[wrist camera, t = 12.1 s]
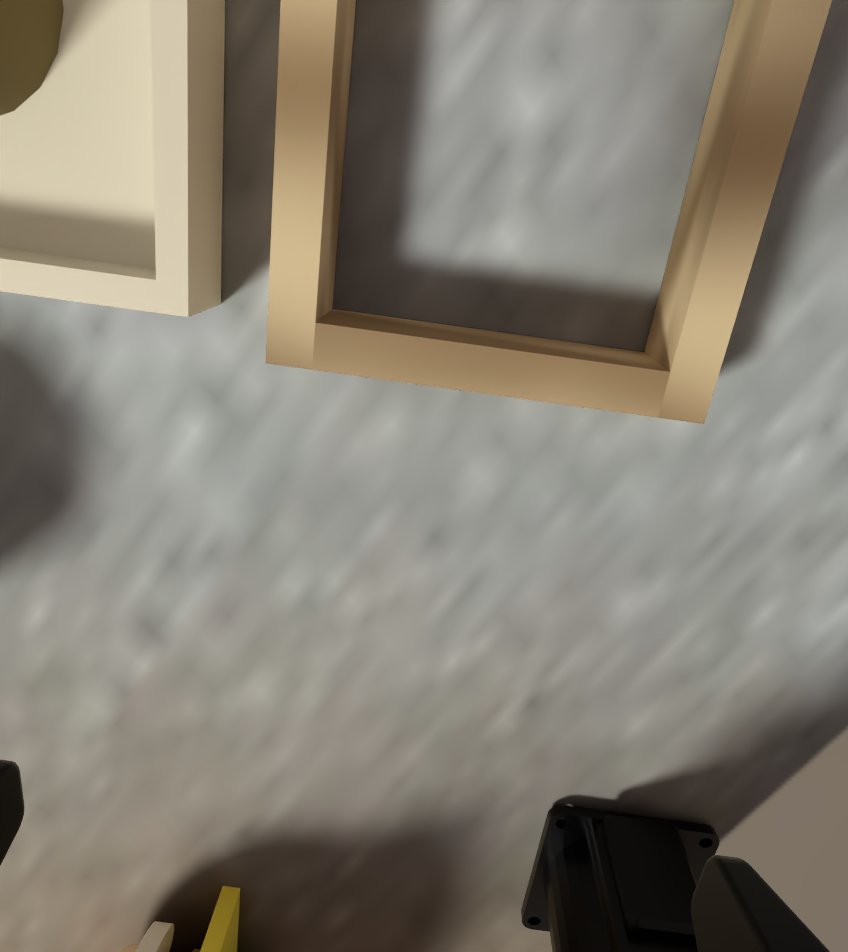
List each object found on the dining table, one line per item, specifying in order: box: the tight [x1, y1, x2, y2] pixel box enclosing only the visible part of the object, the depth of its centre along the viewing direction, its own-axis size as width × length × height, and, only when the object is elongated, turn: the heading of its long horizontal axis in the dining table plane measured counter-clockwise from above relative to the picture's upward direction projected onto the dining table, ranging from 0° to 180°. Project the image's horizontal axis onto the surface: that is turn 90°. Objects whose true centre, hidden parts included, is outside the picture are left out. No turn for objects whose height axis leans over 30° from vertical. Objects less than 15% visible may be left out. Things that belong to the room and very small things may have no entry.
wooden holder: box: [266, 0, 832, 424], centre depth 16 cm, size 11×11×2 cm
